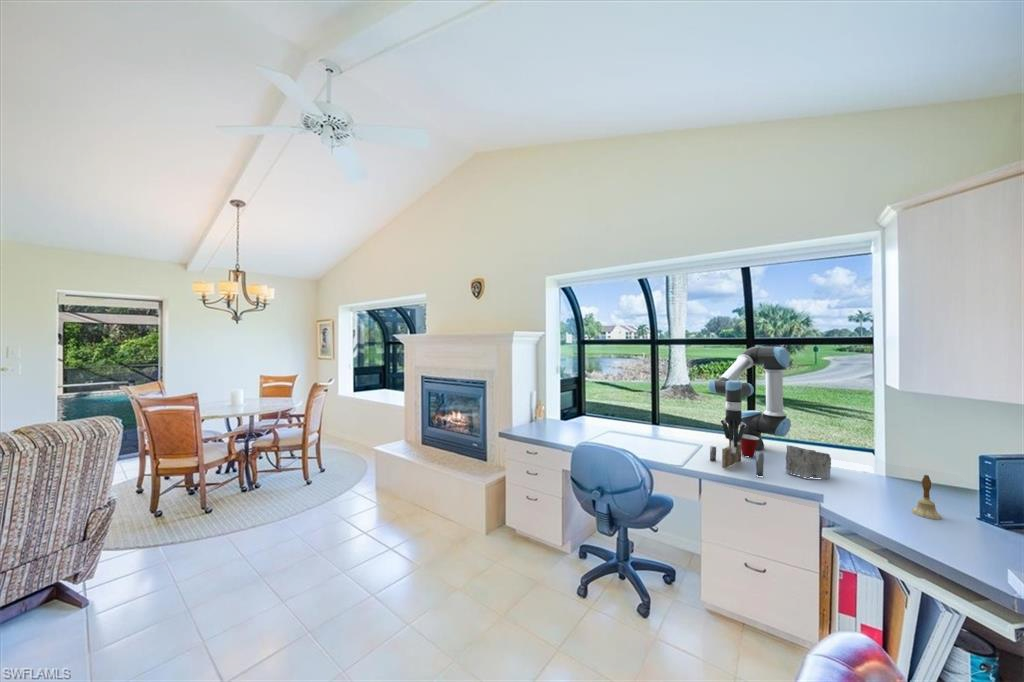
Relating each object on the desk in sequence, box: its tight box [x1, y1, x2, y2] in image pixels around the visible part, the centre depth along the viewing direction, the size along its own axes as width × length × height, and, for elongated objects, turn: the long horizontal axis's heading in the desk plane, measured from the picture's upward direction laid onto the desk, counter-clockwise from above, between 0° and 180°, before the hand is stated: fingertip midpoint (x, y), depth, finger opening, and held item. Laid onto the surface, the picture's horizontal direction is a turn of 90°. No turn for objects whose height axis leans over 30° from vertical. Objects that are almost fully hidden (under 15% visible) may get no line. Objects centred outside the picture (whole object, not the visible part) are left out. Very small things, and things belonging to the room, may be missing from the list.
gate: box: [721, 443, 740, 470], centre depth 210 cm, size 20×1×10 cm, turn 128°
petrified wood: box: [785, 444, 832, 480], centre depth 198 cm, size 19×17×15 cm
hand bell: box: [911, 474, 942, 521], centre depth 154 cm, size 8×8×16 cm
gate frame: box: [709, 440, 765, 477], centre depth 208 cm, size 27×17×12 cm, turn 172°
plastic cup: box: [741, 434, 759, 458], centre depth 228 cm, size 11×11×12 cm
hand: (733, 452), depth 208 cm, fingers closed
